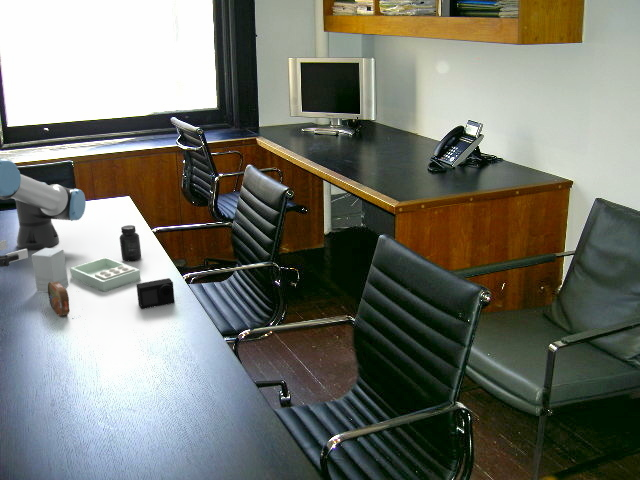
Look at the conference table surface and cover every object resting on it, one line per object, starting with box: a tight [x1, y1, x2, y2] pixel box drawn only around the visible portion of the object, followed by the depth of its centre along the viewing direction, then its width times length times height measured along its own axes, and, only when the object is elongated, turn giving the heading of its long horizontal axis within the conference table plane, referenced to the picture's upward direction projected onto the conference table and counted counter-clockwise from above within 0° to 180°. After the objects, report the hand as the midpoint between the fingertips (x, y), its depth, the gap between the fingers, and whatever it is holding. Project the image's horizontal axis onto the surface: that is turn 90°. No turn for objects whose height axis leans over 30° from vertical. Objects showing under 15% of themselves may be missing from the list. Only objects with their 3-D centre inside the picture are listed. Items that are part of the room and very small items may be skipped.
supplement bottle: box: [119, 224, 142, 263], centre depth 280 cm, size 7×7×12 cm
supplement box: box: [31, 247, 69, 293], centre depth 255 cm, size 7×7×13 cm
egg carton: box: [95, 265, 134, 281], centre depth 259 cm, size 6×11×4 cm, turn 137°
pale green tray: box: [69, 256, 142, 293], centre depth 263 cm, size 20×14×4 cm
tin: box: [47, 282, 70, 317], centre depth 237 cm, size 15×3×8 cm, turn 33°
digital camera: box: [136, 278, 176, 310], centre depth 240 cm, size 10×5×7 cm, turn 115°
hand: (16, 248), depth 245 cm, fingers open, 13 cm apart
